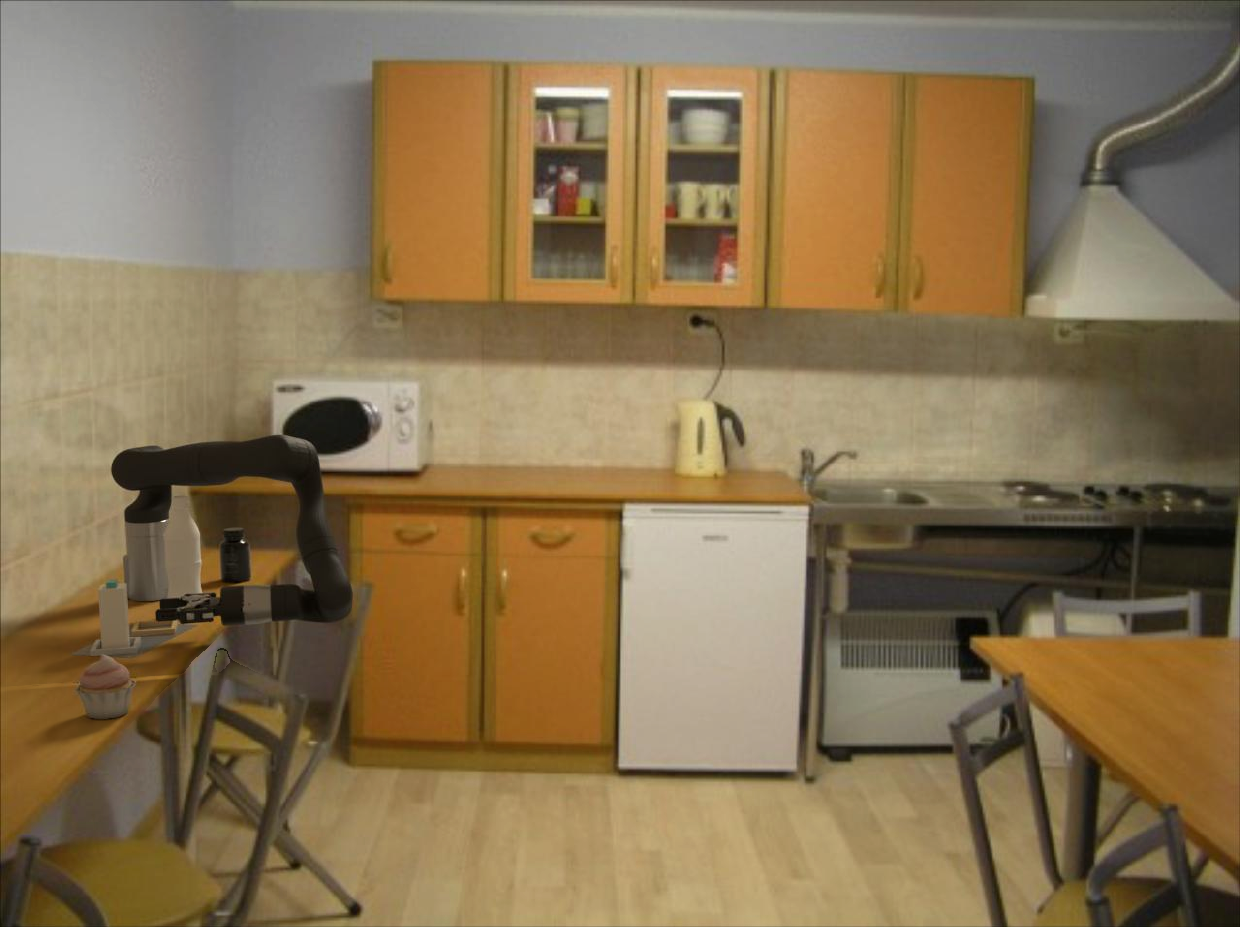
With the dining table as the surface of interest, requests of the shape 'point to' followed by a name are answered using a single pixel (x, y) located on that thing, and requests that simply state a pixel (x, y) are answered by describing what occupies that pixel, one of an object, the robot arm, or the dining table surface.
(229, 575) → the supplement bottle
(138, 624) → the panel
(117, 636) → the white tall box
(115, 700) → the cupcake
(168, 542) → the water bottle
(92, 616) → the dining table surface
